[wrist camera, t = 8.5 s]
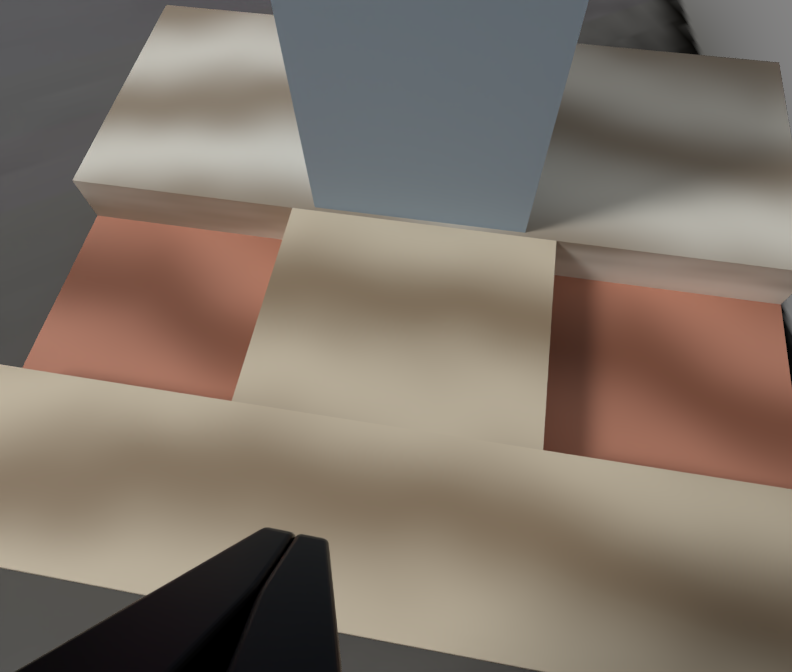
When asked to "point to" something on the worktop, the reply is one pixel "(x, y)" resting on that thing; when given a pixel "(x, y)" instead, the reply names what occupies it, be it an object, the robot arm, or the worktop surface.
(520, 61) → the slate block
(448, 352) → the trap board
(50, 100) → the worktop surface
